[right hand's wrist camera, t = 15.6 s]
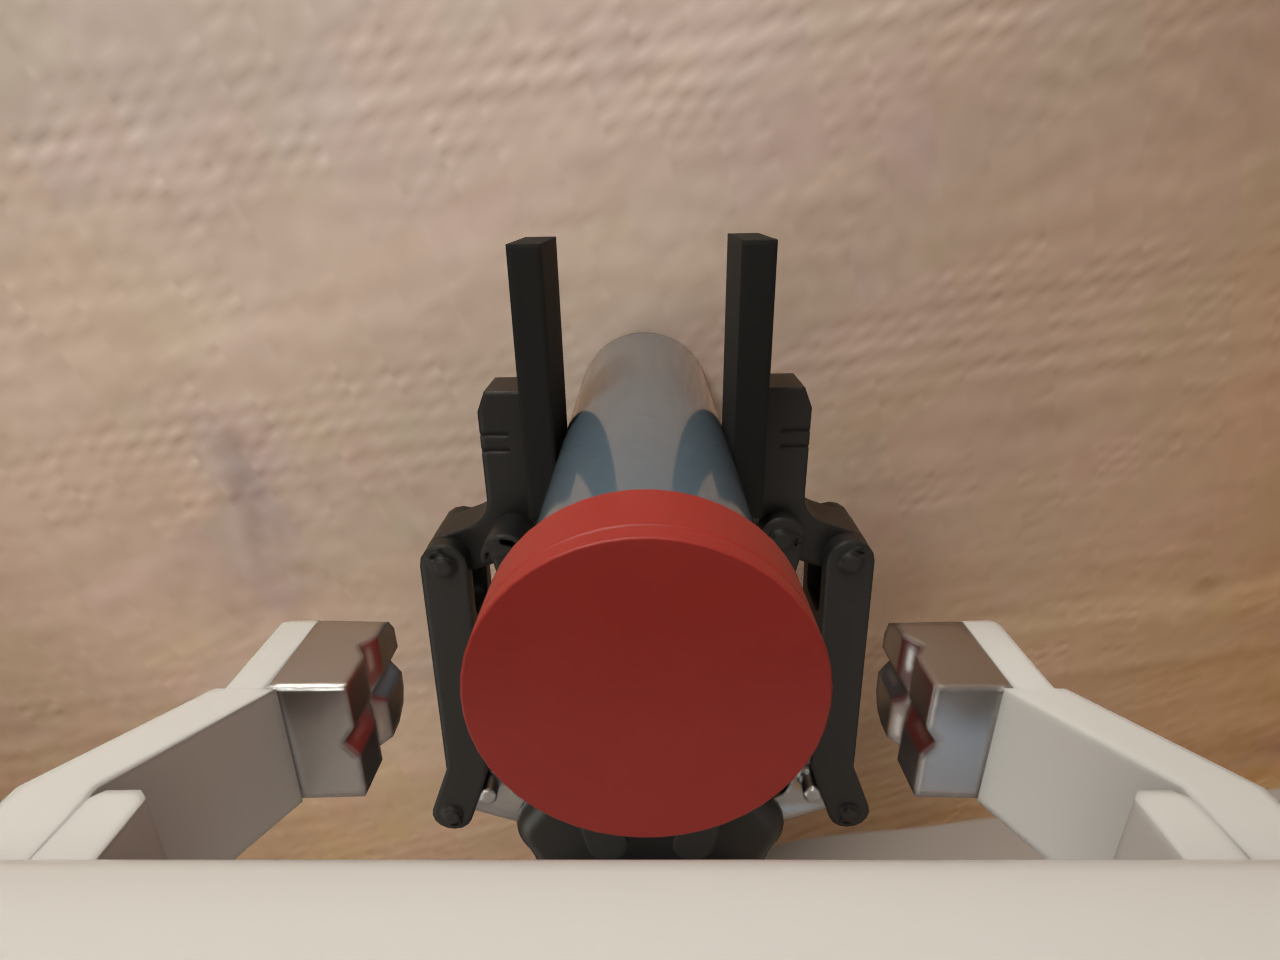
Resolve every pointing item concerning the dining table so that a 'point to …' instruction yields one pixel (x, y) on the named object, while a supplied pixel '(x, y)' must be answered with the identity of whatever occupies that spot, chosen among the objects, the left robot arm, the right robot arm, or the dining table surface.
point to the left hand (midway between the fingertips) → (641, 240)
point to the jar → (644, 429)
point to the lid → (646, 666)
